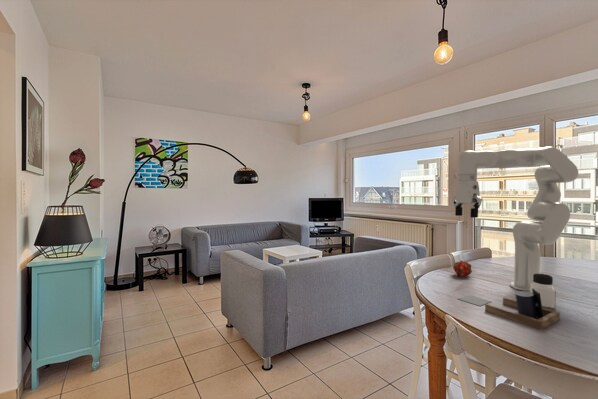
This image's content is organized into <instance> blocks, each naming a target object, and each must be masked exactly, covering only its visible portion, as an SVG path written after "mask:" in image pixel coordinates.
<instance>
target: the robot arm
mask: <svg viewBox="0 0 598 399" xmlns="http://www.w3.org/2000/svg"><path fill="white" fill-rule="evenodd" d="M536 167H537V168H536ZM515 168H516V169H517V168H518V169H519V168H536V169H535V171H534V179H535V181H536V183H537V187H538V191H537V193H536V196H535V197H534V199H533V201H532V202H531V204H530V206H529V208H527V213H526V216H527V217H528V218H529V220H521V221H518V222H516V223H515V224H514V225H513V226H512V236H513V239H514V240H513V241H514V266H513V267H514V273H513V275H514V277H513V281H512V282H510V283H509V286H510V287H512V288H513V289H516V290H519V291H526V292H530V283H533V275H534V274H537V273H541V254H542V253H541V249H540V246H539V245H544V246H545V245H546V246H550V245H553V244H554V243H556V241H558V239H559V238H560V236H561V235H562V233H563V231H564V229H565V227H566V226H567V225H568V223H569V221H570V219H571V209H570V207H569V205H567V204H566V203H563V202H559V201H561V200H560V199H561V196H562V193H561V190H560V188H559V187H558V185H557V184H558V183H559V184H562V183H571V182H574V181H575V180H577V179H578V176H579V169H578V167H577V165H576V164H575V163H574V162H573V161H572V160H571V159H570V158H569V157H567V155H566V154H564V153H563V151H561V150H560V149H558V148H557V147H554V146H550V145H549V146H544V147H537V148H536V147H535V148H517V149H516V148H512V149H505V150H503V149H502V150H499V151H492V150H479V151H475V150H463V151H460V152H459V153H458V160H457V182H456V183H457V184H456V188H455V189H456V190H455V195H454V196H453V197H452V200H453V205H454V209H455V210H454V211H455V213H454V214H455V216H457V217H460V216H463V207H462V206H463V205H464V204H466V205H470V207H471V208H470V218H472V219H473V218H477V219H478V218H479V209H480V206H482V202H483V201H484V200H483V198H482V197H481V195H480V194H481V193H480V185H479V181H478V169H483V170H484V169H515Z"/></svg>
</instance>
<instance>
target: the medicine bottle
mask: <svg viewBox="0 0 598 399" xmlns="http://www.w3.org/2000/svg"><path fill="white" fill-rule="evenodd" d="M553 280H554V279H553V277H552V276H551V275H550V274H546V273H541V272H540V273H537V274H534V275H533V283H530V292H531V293H533V292H532V288H533V289H535V290H536V291H538V292H539V293H540V298H541V304H542V308H549V307H550V309H556V297H557V294H556V292H557V291H556V289H555V288H554V286H553Z"/></svg>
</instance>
